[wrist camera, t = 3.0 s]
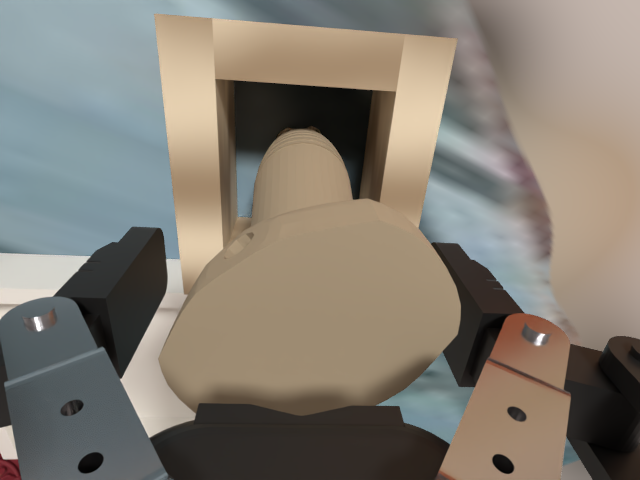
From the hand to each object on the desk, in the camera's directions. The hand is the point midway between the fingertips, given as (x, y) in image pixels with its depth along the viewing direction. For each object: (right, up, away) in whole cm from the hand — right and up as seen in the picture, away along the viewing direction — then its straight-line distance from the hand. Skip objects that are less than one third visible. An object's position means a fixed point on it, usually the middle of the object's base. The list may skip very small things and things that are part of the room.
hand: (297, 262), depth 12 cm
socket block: (0, +5, +10) cm, 11 cm away
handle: (0, +6, +10) cm, 11 cm away
